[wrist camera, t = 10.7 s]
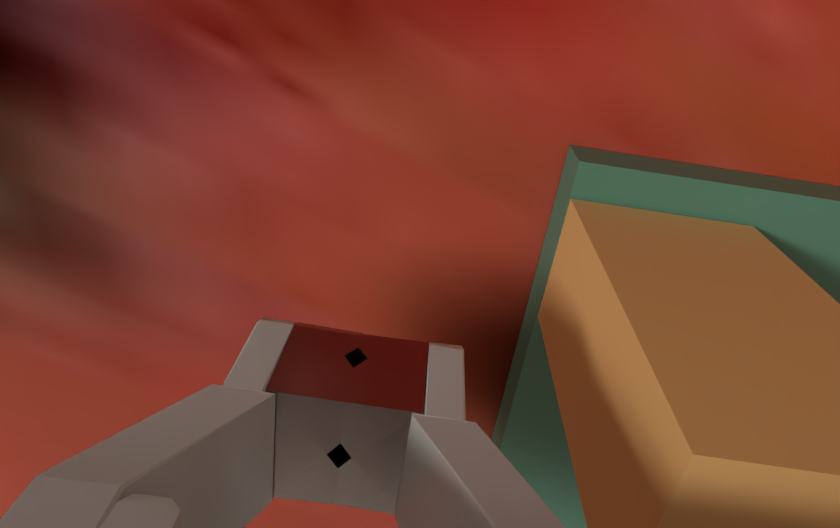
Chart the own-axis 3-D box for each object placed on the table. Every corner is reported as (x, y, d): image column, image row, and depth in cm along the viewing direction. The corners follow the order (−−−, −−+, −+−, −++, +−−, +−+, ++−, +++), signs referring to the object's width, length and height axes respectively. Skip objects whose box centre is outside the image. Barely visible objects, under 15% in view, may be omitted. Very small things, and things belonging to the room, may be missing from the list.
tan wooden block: (665, 424, 15) (819, 766, 9) (513, 402, 15) (556, 730, 9) (753, 225, 13) (1065, 508, 6) (570, 198, 13) (692, 453, 6)
